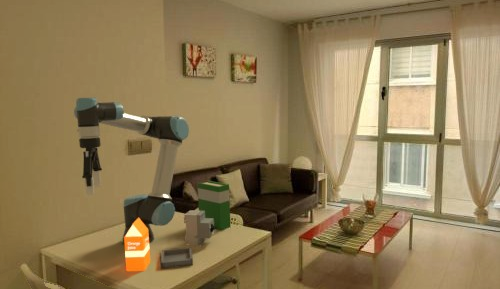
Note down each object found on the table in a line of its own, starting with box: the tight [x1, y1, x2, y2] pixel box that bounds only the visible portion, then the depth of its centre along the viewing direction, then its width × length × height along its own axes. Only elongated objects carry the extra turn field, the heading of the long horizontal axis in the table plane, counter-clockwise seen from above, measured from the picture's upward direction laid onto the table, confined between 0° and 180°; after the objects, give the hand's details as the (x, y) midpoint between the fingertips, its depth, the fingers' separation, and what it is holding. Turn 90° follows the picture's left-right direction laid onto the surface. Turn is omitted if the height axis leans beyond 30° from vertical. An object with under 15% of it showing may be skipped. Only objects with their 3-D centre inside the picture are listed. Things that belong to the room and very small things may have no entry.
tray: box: [160, 246, 194, 270], centre depth 160 cm, size 14×13×2 cm
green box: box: [197, 180, 231, 232], centre depth 204 cm, size 18×7×24 cm, turn 48°
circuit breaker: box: [183, 210, 216, 246], centre depth 179 cm, size 8×14×15 cm, turn 78°
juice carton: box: [124, 218, 151, 272], centre depth 154 cm, size 8×9×20 cm
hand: (94, 190), depth 146 cm, fingers open, 13 cm apart
